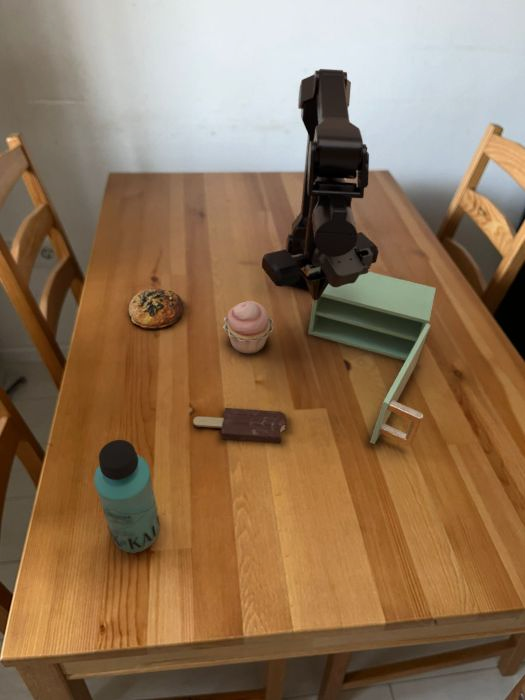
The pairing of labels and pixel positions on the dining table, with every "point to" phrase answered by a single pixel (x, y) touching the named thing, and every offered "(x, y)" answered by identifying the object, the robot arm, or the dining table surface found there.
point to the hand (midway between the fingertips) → (314, 298)
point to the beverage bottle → (127, 496)
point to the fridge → (374, 314)
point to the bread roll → (155, 308)
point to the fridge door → (400, 409)
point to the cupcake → (248, 327)
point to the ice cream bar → (247, 424)
